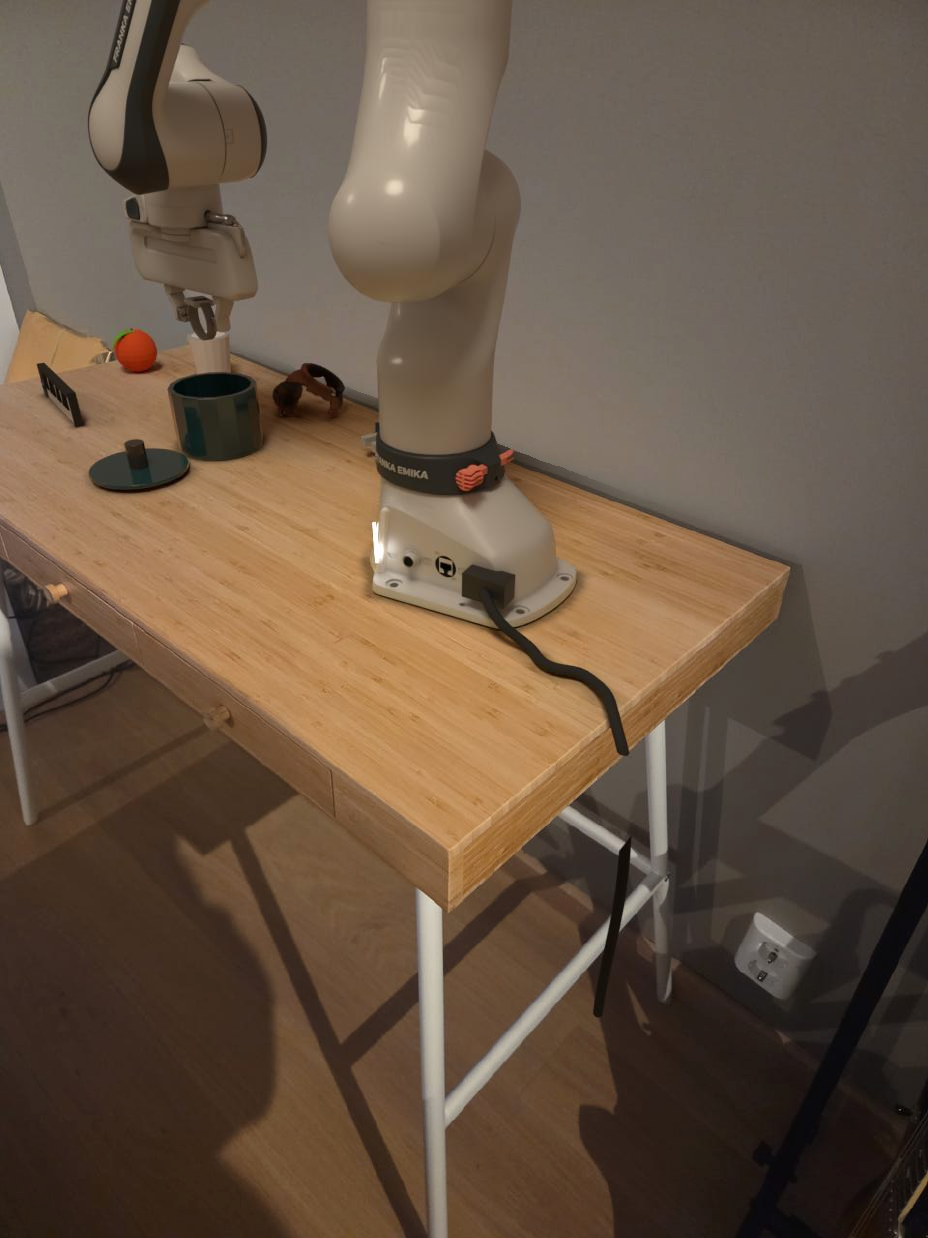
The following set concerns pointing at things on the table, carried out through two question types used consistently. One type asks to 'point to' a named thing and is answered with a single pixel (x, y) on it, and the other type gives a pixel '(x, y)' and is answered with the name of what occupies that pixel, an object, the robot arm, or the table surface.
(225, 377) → the tin
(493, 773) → the table surface
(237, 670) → the table surface
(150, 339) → the clementine
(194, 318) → the wristwatch
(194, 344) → the cream white cylinder
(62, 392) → the midi keyboard
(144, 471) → the lid
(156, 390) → the table surface
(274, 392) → the brown arched strap
